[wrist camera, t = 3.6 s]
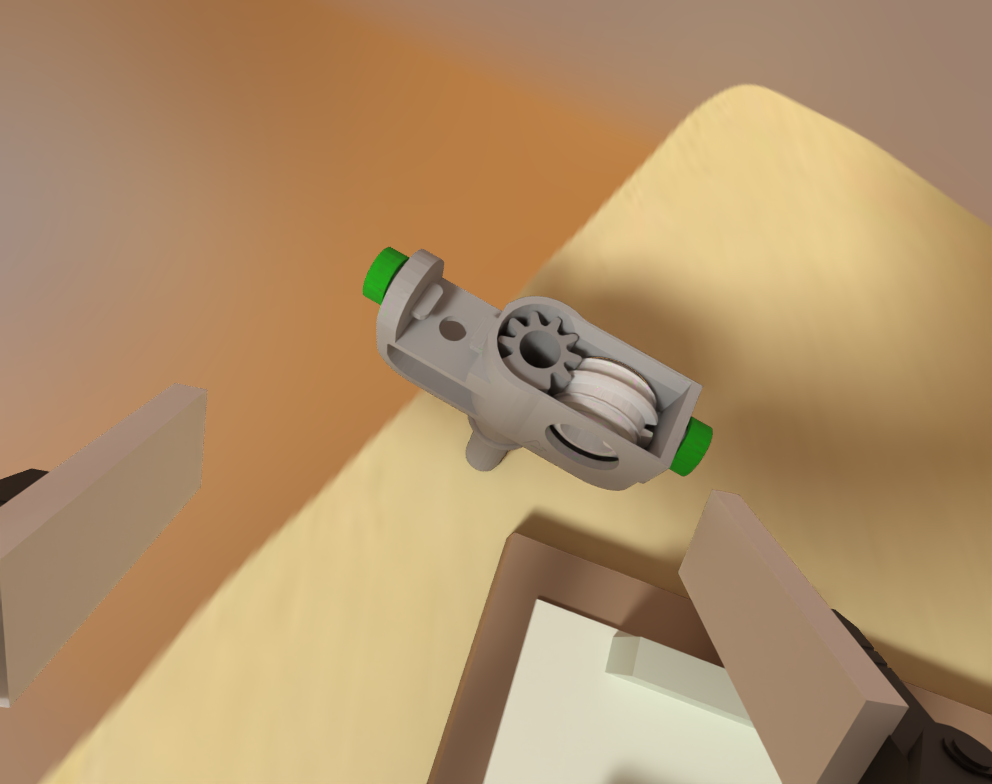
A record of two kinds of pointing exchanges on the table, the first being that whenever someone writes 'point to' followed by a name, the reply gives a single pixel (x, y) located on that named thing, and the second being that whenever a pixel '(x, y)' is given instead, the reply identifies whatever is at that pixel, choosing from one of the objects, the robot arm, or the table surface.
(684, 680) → the board
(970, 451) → the table surface
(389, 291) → the mechanical component
